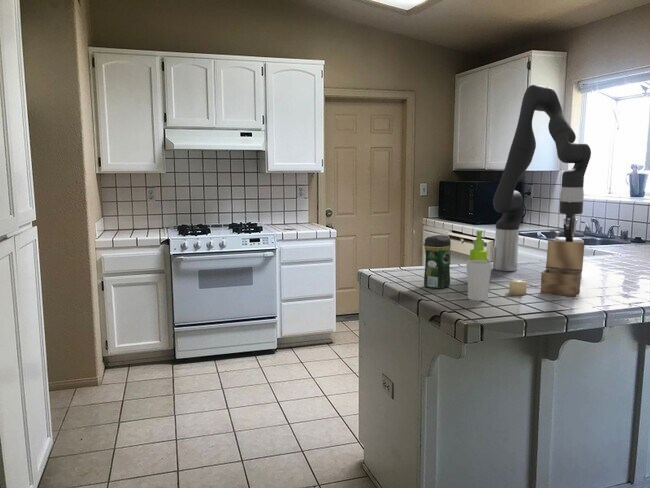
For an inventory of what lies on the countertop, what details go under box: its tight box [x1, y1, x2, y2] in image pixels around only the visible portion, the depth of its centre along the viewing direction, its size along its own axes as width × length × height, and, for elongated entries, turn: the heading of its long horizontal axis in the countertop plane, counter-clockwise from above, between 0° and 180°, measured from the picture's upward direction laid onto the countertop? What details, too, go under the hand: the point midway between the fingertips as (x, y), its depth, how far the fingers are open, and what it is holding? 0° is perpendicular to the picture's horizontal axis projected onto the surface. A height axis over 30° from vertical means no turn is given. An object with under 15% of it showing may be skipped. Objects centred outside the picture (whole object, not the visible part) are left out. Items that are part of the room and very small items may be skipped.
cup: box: [466, 259, 493, 302], centre depth 174 cm, size 8×8×12 cm
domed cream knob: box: [508, 279, 528, 296], centre depth 182 cm, size 6×6×4 cm
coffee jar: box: [423, 234, 452, 290], centre depth 191 cm, size 10×8×19 cm
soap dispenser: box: [469, 230, 488, 261], centre depth 192 cm, size 6×7×20 cm
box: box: [540, 268, 582, 298], centre depth 183 cm, size 11×9×7 cm
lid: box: [545, 240, 585, 273], centre depth 186 cm, size 12×10×1 cm
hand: (568, 248), depth 191 cm, fingers closed
